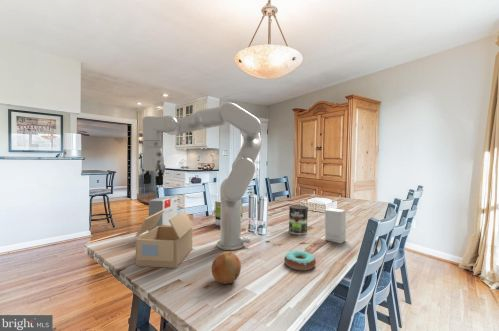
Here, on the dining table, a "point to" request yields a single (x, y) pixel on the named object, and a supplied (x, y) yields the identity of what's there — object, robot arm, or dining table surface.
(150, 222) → the flap
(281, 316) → the dining table surface
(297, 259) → the donut
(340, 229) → the skincare box
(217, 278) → the onion
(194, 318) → the dining table surface
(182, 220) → the flap
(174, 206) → the hard drive box
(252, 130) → the robot arm
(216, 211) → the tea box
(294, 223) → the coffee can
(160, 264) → the carton
